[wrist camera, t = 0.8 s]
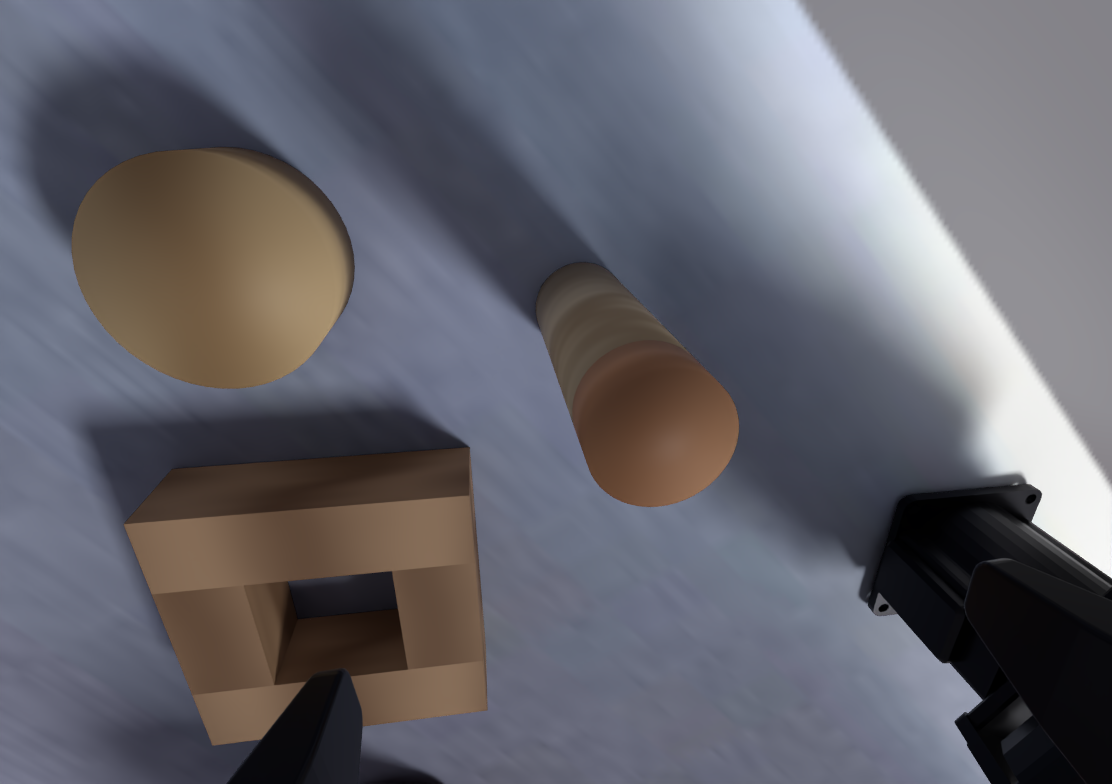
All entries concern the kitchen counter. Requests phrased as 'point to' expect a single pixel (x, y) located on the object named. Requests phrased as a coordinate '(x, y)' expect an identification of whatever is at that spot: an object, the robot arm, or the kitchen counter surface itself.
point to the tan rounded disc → (213, 263)
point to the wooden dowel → (633, 391)
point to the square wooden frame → (317, 552)
